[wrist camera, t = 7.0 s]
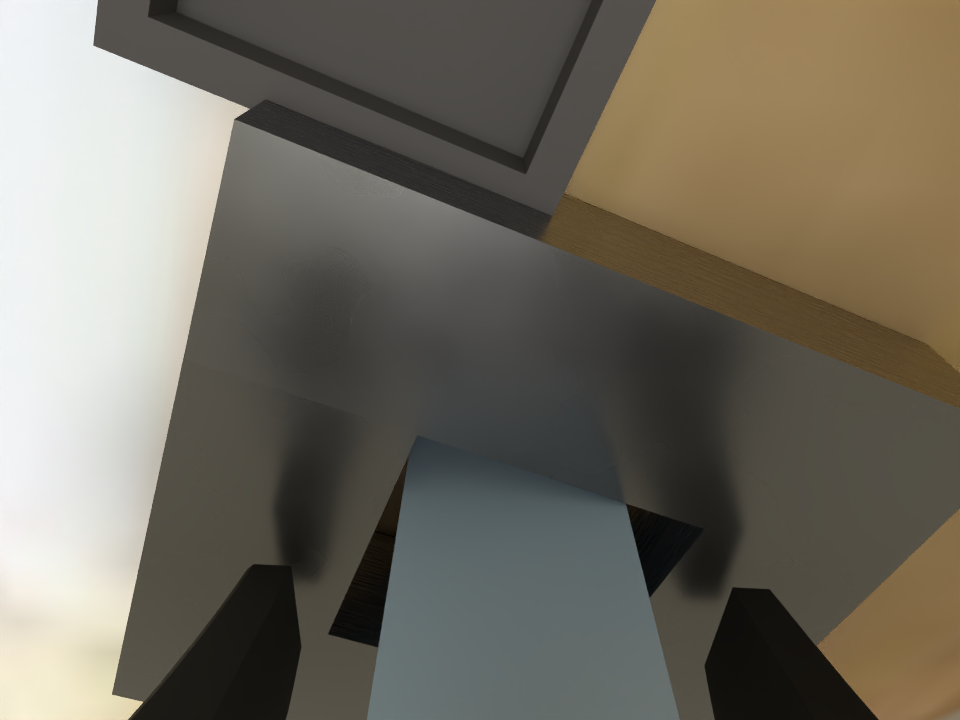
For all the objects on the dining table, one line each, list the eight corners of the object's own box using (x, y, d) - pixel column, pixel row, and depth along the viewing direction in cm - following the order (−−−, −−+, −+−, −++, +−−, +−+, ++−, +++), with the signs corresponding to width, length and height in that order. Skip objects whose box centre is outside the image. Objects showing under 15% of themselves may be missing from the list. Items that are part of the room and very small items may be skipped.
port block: (928, 345, 12) (1033, 437, 10) (618, 703, 18) (638, 816, 16) (294, 81, 10) (234, 119, 8) (168, 583, 16) (112, 694, 14)
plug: (601, 406, 13) (728, 912, 6) (576, 538, 15) (651, 1042, 8) (418, 395, 13) (339, 895, 6) (415, 529, 15) (351, 1032, 8)
